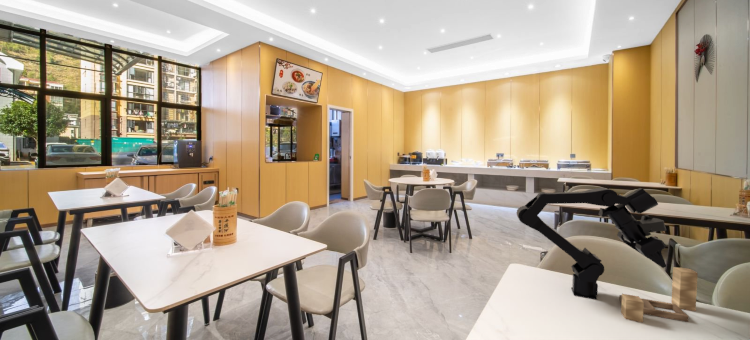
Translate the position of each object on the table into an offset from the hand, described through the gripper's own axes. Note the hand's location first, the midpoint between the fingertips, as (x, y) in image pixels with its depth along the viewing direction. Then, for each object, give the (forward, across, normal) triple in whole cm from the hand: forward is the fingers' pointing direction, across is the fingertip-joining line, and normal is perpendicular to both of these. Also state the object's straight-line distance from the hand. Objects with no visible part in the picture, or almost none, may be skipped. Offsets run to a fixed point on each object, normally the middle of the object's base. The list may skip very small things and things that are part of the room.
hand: (656, 262), depth 96 cm
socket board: (+9, -6, +11) cm, 15 cm away
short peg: (+5, -13, +17) cm, 22 cm away
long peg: (+16, +1, +2) cm, 16 cm away
